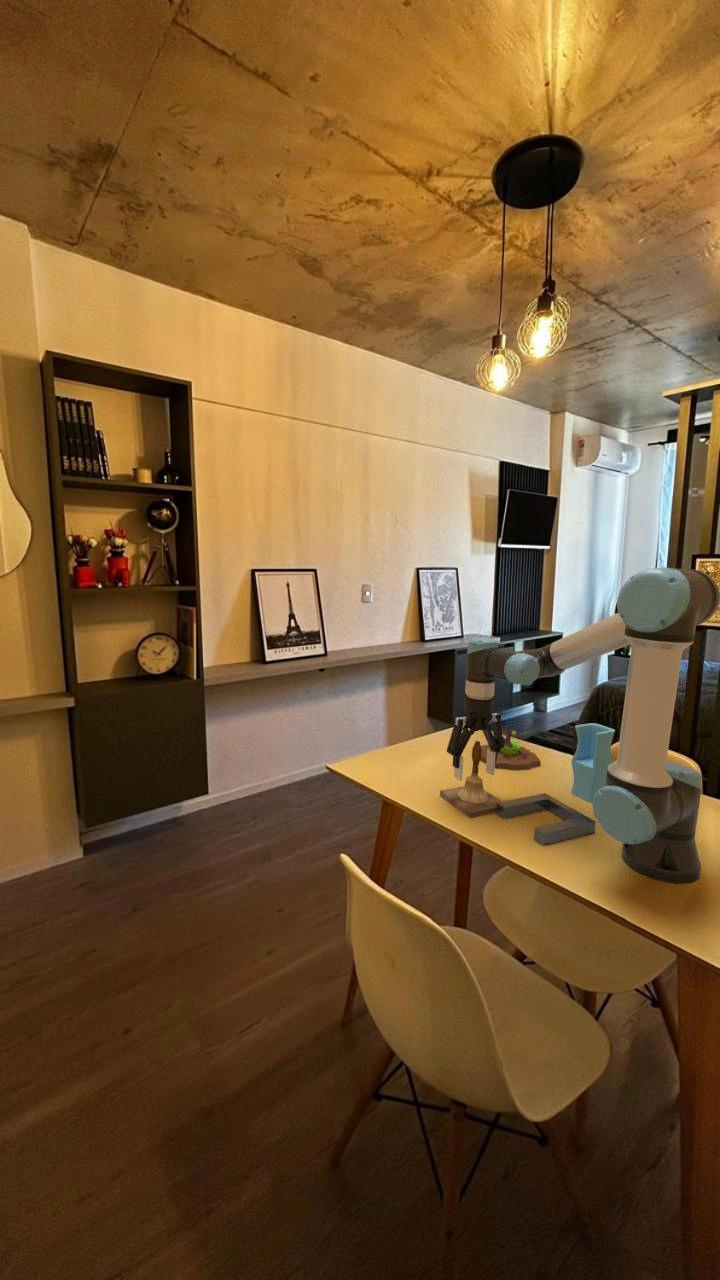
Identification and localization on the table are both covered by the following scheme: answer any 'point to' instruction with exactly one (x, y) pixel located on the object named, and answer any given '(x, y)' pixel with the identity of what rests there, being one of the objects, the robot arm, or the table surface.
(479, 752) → the hand bell
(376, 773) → the table surface
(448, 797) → the walnut board
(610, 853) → the table surface
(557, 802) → the silver c-shaped bracket
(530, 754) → the plant
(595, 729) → the light blue holder
